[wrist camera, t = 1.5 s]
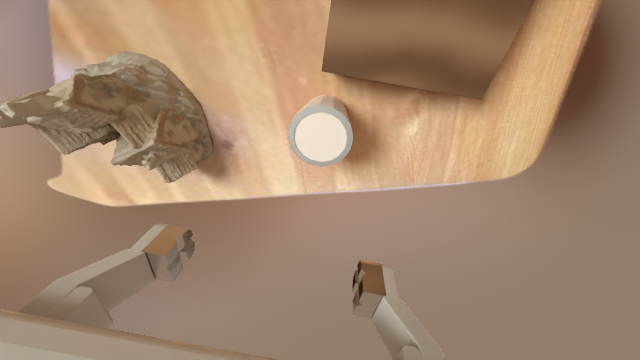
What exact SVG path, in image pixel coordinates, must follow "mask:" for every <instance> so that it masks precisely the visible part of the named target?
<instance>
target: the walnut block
mask: <svg viewBox="0 0 640 360" xmlns="http://www.w3.org/2000/svg"><path fill="white" fill-rule="evenodd" d="M533 2H534V0H331V7H330V14H329V21H328V29H327V36H326V43H325V50H324V58H323V65H322V71H323V72H329V73H334V74H340V75H345V76H351V77H357V78H362V79H368V80H373V81H379V82H385V83H390V84H396V85H402V86H407V87H413V88H418V89H424V90H430V91H435V92H441V93H446V94H452V95H458V96H463V97H469V98H475V99H480V100H482V98H483V96H484V94H485V93H486V91H487V89H488V87H489V85H490V83H491V81H492V79H493V77H494V76H495V74H496V72H497V70H498V68H499V66H500V64H501V62H502V61H503V59H504V57H505V55H506V53H507V51H508V49H509V47H510V45H511V44H512V42H513V40H514V38H515V36H516V34H517V32H518V30H519V29H520V27H521V25H522V23H523V21H524V19H525V17H526V15H527V13H528V12H529V10H530V8H531V6H532V4H533Z"/></svg>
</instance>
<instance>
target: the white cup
mask: <svg viewBox="0 0 640 360" xmlns="http://www.w3.org/2000/svg"><path fill="white" fill-rule="evenodd" d="M288 139H289V142H290V145H291V148H292V150H293V151H294V153H295V154H296V155H297V156H298V157H299V158H300V159H301V160H303V161H305V162H306V163H308V164H310V165H315V166H320V167H322V166H329V165H334V164H335V163H337V162H339V161H341V160H343V159H344V157H345V156H346V155H347V154H348V152H349V151H350V149H351V146H352V142H353V133H352V127H351V124H350V120H349V117H348V114H347V111H346V108H345V106H344V105H343V103H342V102H341V101H340V100H339V99H337V98H336V97H334V96H330V95H320V96H316V97H315V98H313V99H312V100H311V101H309V102H308V103H307V104H306V105H305V106H304V107H303V108H302V109H301V110H300V111H299V112H298V113H297V114H296V115H295V117H294V119H293V120H292V122H291V124H290V126H289V134H288Z"/></svg>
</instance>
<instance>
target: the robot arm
mask: <svg viewBox="0 0 640 360" xmlns="http://www.w3.org/2000/svg"><path fill="white" fill-rule="evenodd" d="M192 235H193V234H192V230H189V229H184V228H179V227H175V226H170V225H165V224H160V223H158V224H156V225H154V226H153V227H152V228H151V229H150V230H149V231H148V232H147V233H146V234H145V235H144V236H143V237H142V238H141V239H140V240H139V241H138V242H137V243H136V244H135V245H134V246H133V247H132V248H131V249H130V250H129V249H126V250H123V251H121V252H119V253H116V254H114V255H112V256H109V257H107V258H105V259H103V260H100V261H98V262H96V263H94V264H91V265H89V266H87V267H85V268H82V269H80V270H78V271H75V272H73V273H71V274H69V275H66V276H64V277H62V278H59V279H57V280H55V281H54V282H53V283H52V284H50V285H49V286H48V287H47V288H46V289H44V290H43V291H42V292H41V293H40V294H38V295H37V296H36V297H35V298H34V299H32V300H31V301H30V302H29V303H28V304H26V305H25V306H24V307H23V308H22V309H20V311H18V312H13V311H8V310H2V309H0V360H276V359H271V358H266V357H260V356H254V355H249V354H244V353H238V352H232V351H227V350H222V349H216V348H211V347H205V346H200V345H194V344H188V343H183V342H178V341H172V340H167V339H161V338H156V337H150V336H145V335H139V334H134V333H129V332H123V331H118V330H112V329H109V328H110V326H111V325H112V324H113V319H112V318H111V316H110V315H109V313H108V311H110V310H111V309H112V308H114V307H116V306H117V305H119V304H120V303H121V302H123V301H124V300H126V299H127V298H129V297H130V296H132V295H133V294H135V293H136V292H138V291H139V290H141V289H142V288H144V287H145V286H147V285H148V284H150V283H151V282H153V281H154V280H155V279H159V280H166V281H175V279H176V278H177V277H178V275H179V274H180V272H181V271H182V270H183V266H182V264H184V263H186V262H188V261H189V260H190V258H191V257H192V255H193V252H194V247H195V244H194V241H193V240H192V239H191V237H192ZM357 267H358V270H357V271H355V273H354V277H353V292H354V294H355V296H354V298H353V315H358V316H363V317H368V318H372V319H371V320H372V322H373V323H374V326H375V327H376V329H377V331H378V333H379V335H380V337H381V339H382V340H383V342H384V344H385V346H386V348H387V350H388V351H389V354H390V355H391V357H392V359H393V360H445V357H444V354H443V351H442V350H441V349H440V347H439V346H438V345H437V343H436V342H435V341H434V340H433V338H432V337H431V336H430V334H429V333H428V332H427V331H426V329H425V328H424V327H423V326H422V324H421V323H420V322H419V320H418V319H417V318H416V317H415V315H414V314H413V313H412V311H411V310H410V309H409V308H408V306H407V305H406V304H405V303H404V301H402V300H401V299H399V297H398V292H397V287H396V283H395V278H394V273H393V268H392V267H391V266H388V265H383V264H378V263H372V262H366V261H361V260H360V261H359V263H358V265H357Z"/></svg>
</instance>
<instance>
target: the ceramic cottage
mask: <svg viewBox="0 0 640 360" xmlns="http://www.w3.org/2000/svg"><path fill="white" fill-rule="evenodd" d="M23 124H29V125H31V126H32V127H34V128H35V129H36V130H37V131H38V132H39V133H41V135H43V136H44V137H45V138H47V139H48V140H49V141H50V142H51V143H52V144H53V145H54V146H55V147H56V148H57V149H58V150H59V151H60V152H61V153H62V154H63V155H66V154H70V153H71V152H73V151H76V150H79V149H83V148H85V147H86V146H88V145H91V144H93V143H98V142H100V143H102V144H103V145H104V144H106V143H108V142H110V141H113V140H116V139H117V143H116V148H115V151H114V157H113V159H112V160H111V163H112V164H113V165H118V164H119V165H121V166H122V165H128V166H132V165H139V166H144V167H145V168H146V169H147V170H152V169H154V168H156V170H157V171H158V172H159V173H160V175H161V176H162V177H163V179H164V182H166V183H171V182H173V181H176V180H177V179H179V178H180V177H182V176H184V175H186V174H187V173H189V172H191V171H193V170H195V169H196V168H197V167H198V165H197V163H198V162H199V161H200V160H201V159H204V158H207V157H208V156H210V155H211V153H212V151H213V144H212V140H211V139H210V137H211V136H210V133H209V129H208V126H207V123H206V119H205V115H204V113H203V111H202V109H201V106H200V104H199V103H198V102H197V100H196V99H195V97H194V96H193V95H192V94H191V93H190V92H189V91H188V89H186V87H185V85H184V84H183V83H182V81H180V79H179V78H178V77H177V76H176V75H175V74H174V73H172V72H171V71H170V70H169V68H168V67H167V66H165V65H164V64H162V63H161V62H160V61H158V60H156V59H154V58H151V57H148V56H146V55H143V54H140V53H135V52H120V53H116V54H114V55H112V56H110V57H108V58H107V59H106V60H105V61H103V62H101V63H98V64H91V65H87V67H86V68H83V69H75V73H74V74H73V75H72V77H71V79H67V80H64V81H62V82H60V83H58V84H56V85H54V86H53V87H51V88H50V89H49V90H47V91H41V92H35V93H30V94H25V95H21V96H19V97H16V98H14V99H12V100H10V101H8V102H6V103H4V104H2V105H0V127H1V128H4V127H11V126H17V125H23Z"/></svg>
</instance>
